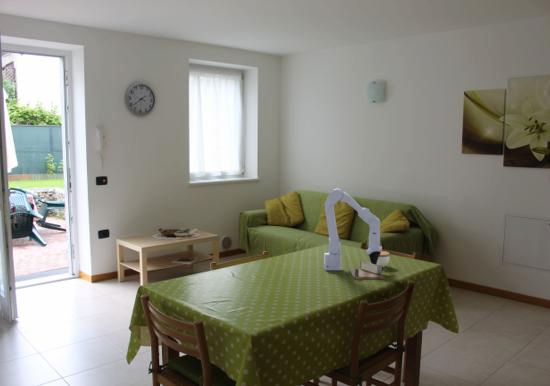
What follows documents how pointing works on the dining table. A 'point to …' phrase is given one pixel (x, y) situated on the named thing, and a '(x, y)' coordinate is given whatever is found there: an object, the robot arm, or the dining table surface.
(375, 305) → the dining table surface
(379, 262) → the lidded jar
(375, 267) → the white bar
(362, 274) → the board
